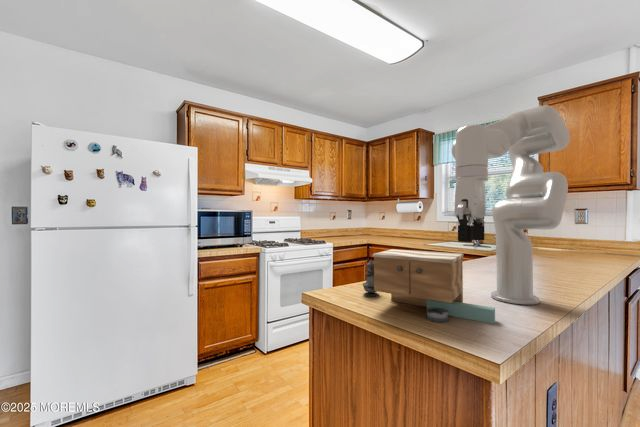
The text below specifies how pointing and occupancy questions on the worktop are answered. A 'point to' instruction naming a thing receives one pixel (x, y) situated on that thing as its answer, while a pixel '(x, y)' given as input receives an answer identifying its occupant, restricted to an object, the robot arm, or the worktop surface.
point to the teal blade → (465, 310)
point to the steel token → (437, 315)
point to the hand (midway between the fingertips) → (471, 241)
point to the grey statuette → (370, 281)
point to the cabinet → (419, 276)
